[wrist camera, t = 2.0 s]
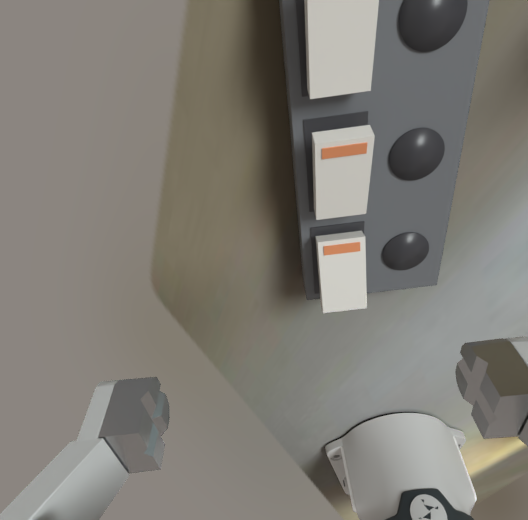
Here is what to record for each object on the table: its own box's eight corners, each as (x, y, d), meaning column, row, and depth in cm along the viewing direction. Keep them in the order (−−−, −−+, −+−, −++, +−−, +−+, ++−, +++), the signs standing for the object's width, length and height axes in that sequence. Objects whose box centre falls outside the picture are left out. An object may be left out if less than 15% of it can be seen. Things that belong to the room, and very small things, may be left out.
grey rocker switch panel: (423, 263, 36) (439, 289, 33) (302, 277, 36) (307, 304, 33) (477, -87, 21) (513, -95, 18) (274, -55, 22) (278, -57, 19)
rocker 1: (365, 81, 23) (371, 91, 22) (307, 89, 23) (310, 99, 22) (376, -48, 18) (383, -41, 17) (303, -36, 18) (306, -28, 18)
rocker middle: (362, 202, 28) (366, 214, 27) (313, 208, 28) (316, 220, 27) (369, 124, 23) (375, 136, 22) (311, 132, 23) (315, 144, 22)
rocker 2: (363, 300, 32) (367, 308, 30) (321, 304, 32) (323, 313, 31) (361, 230, 29) (365, 236, 28) (315, 236, 29) (317, 242, 28)
